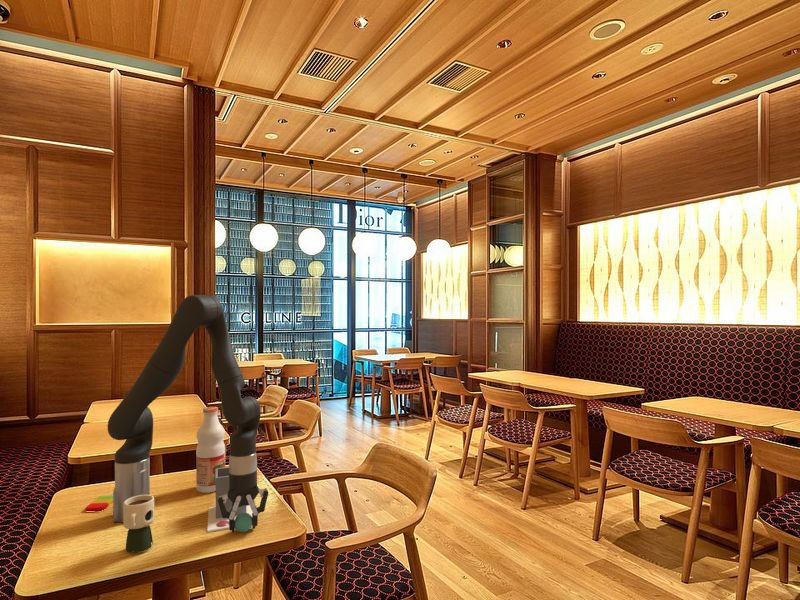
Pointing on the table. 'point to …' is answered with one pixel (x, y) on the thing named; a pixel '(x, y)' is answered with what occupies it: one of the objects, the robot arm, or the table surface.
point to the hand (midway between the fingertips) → (243, 528)
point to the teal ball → (243, 522)
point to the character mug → (138, 522)
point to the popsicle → (100, 503)
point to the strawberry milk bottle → (209, 451)
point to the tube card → (214, 513)
